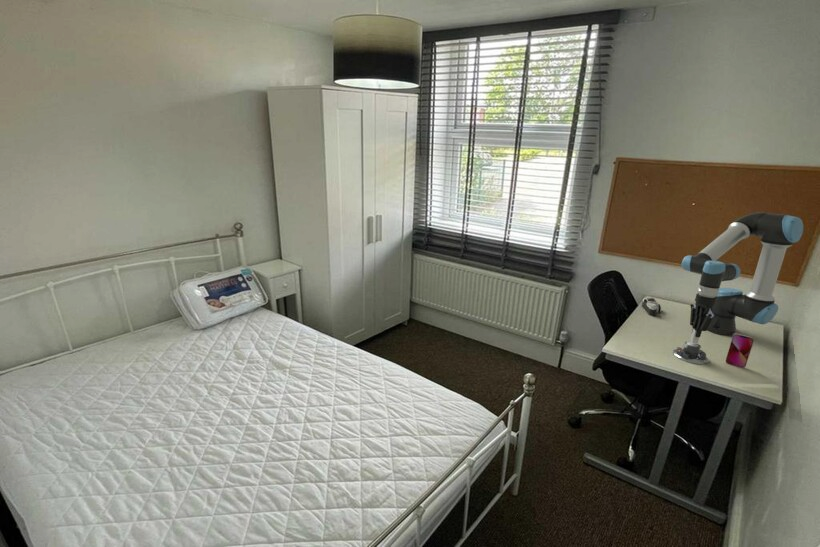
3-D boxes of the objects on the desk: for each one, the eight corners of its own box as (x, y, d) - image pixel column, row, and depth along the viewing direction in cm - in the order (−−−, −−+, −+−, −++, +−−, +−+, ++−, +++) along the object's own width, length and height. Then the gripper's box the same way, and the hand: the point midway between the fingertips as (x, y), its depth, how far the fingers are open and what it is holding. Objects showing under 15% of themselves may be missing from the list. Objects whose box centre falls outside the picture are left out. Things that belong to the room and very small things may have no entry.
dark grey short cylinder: (692, 353, 191) (695, 341, 189) (701, 359, 186) (704, 347, 184) (678, 352, 191) (680, 341, 189) (686, 359, 185) (689, 347, 184)
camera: (663, 320, 230) (667, 304, 227) (647, 318, 232) (651, 302, 229) (654, 310, 245) (657, 295, 242) (638, 308, 247) (642, 293, 244)
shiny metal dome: (694, 350, 196) (695, 344, 195) (715, 364, 182) (717, 358, 181) (666, 349, 195) (667, 343, 194) (685, 364, 182) (687, 358, 181)
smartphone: (724, 362, 184) (733, 333, 180) (724, 361, 185) (733, 332, 181) (745, 368, 180) (754, 338, 175) (745, 367, 180) (754, 337, 176)
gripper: (688, 289, 186) (676, 335, 192) (709, 299, 173) (695, 348, 180) (704, 290, 186) (692, 336, 193) (726, 300, 173) (712, 349, 180)
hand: (693, 342), depth 186 cm, fingers closed
